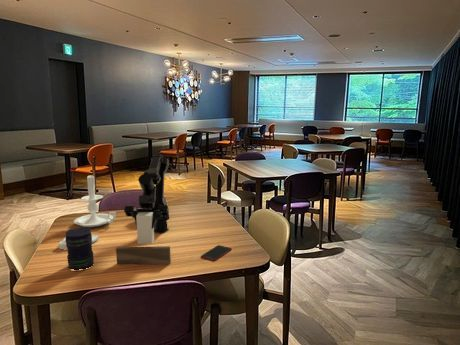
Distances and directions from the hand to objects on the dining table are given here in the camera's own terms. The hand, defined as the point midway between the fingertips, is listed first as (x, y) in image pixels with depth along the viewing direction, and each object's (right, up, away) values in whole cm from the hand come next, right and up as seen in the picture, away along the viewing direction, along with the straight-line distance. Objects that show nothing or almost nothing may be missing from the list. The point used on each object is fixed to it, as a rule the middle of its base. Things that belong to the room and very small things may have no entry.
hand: (144, 228), depth 151 cm
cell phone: (+30, -13, +8) cm, 34 cm away
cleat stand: (0, -14, +2) cm, 14 cm away
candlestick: (-37, -6, +46) cm, 59 cm away
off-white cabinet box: (0, -6, +3) cm, 7 cm away
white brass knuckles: (-37, -11, +20) cm, 43 cm away
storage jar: (-25, -15, -4) cm, 30 cm away
